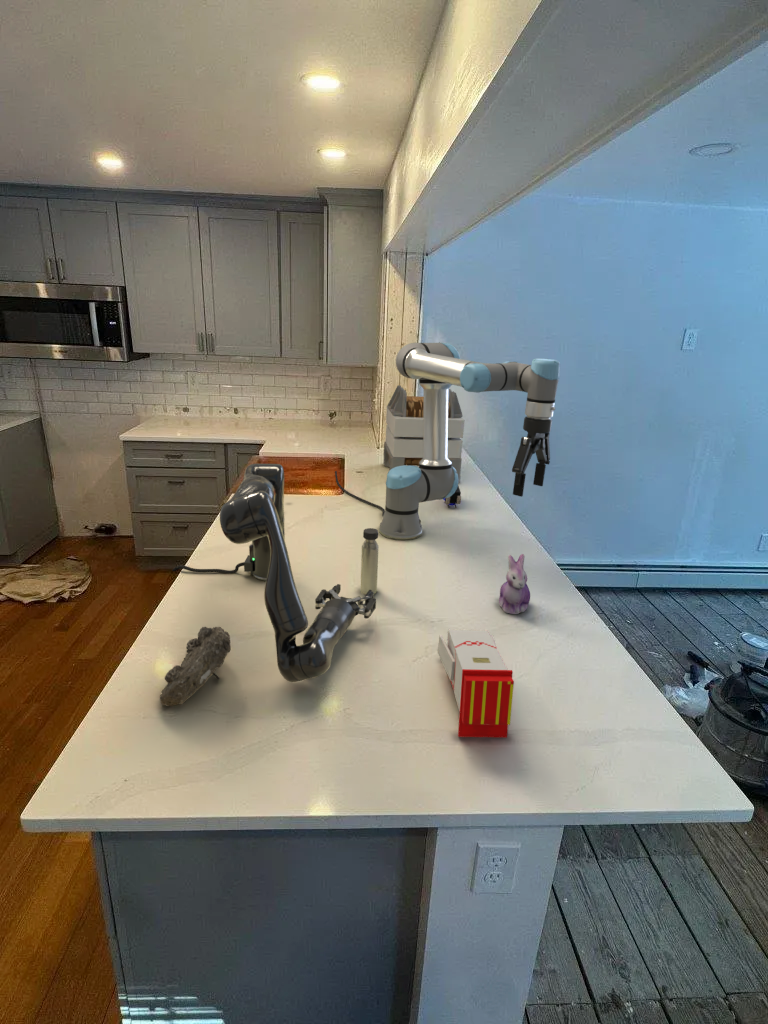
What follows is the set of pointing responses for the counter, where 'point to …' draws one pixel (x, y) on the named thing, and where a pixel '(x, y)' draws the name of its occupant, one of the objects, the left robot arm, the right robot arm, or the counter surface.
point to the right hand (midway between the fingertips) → (528, 490)
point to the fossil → (196, 665)
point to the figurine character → (454, 498)
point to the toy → (478, 682)
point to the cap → (370, 534)
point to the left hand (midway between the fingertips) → (354, 590)
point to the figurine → (515, 588)
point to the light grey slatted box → (418, 430)
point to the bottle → (369, 566)
